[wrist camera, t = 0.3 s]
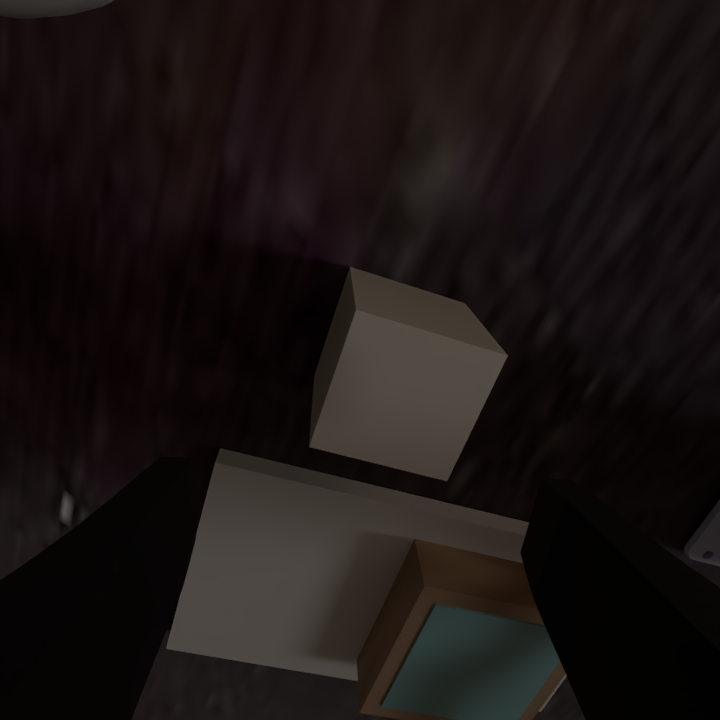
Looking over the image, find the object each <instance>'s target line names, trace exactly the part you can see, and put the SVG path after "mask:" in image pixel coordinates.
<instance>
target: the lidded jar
mask: <svg viewBox="0 0 720 720" xmlns="http://www.w3.org/2000/svg"><path fill="white" fill-rule="evenodd" d="M113 1H115V0H0V16H1V17H10V18H20V19H27V18H40V17H53V16H64V15H73V14H77V13H81V12H84V11H88V10H92V9H95V8H99V7H102V6H105V5H107V4H109V3H111V2H113Z"/></svg>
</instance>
